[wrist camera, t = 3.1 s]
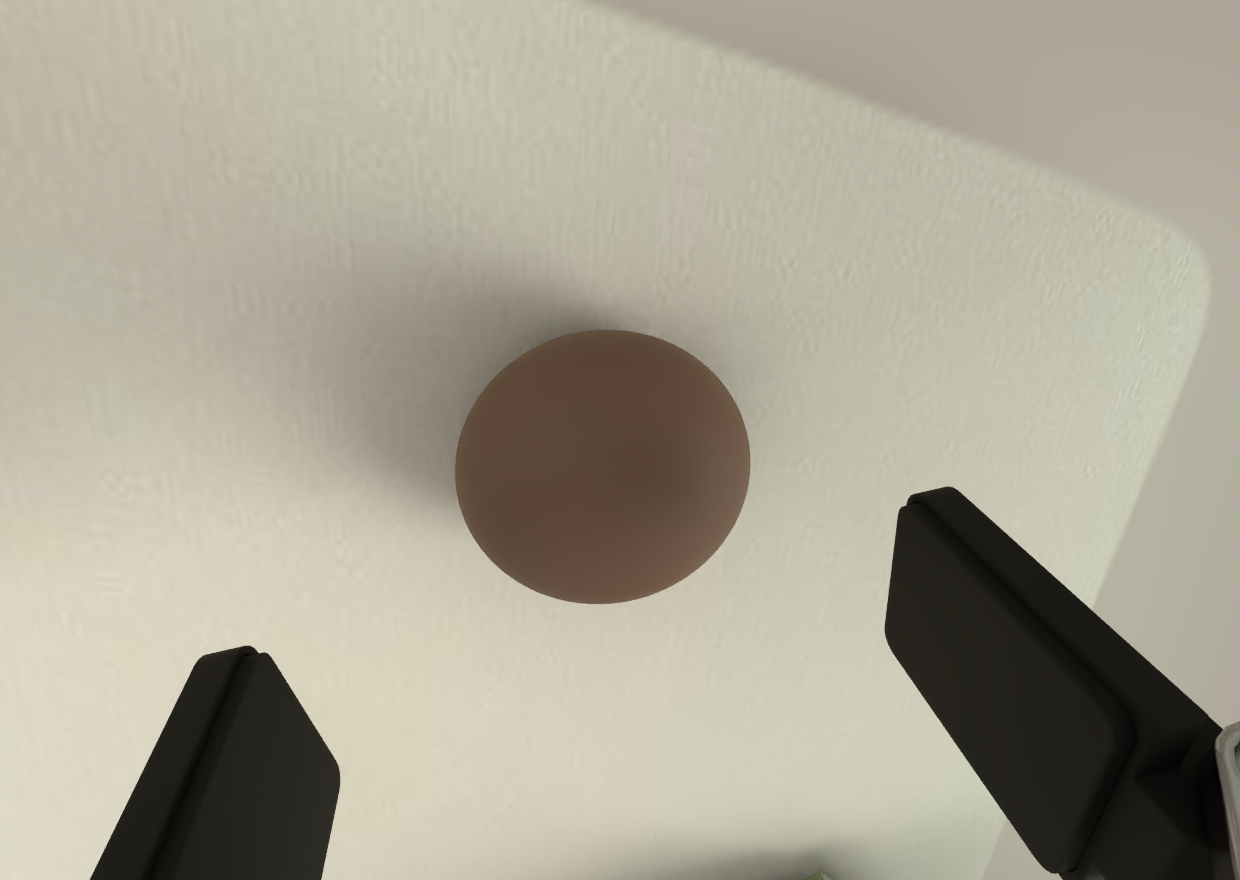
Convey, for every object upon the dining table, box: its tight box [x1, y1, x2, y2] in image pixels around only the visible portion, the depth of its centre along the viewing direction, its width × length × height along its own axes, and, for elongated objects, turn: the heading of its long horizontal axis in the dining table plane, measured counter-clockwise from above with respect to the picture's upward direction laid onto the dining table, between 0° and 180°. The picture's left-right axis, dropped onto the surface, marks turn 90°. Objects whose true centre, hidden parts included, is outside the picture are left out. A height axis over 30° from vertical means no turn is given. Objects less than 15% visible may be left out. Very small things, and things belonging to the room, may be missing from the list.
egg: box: [455, 330, 750, 604], centre depth 13 cm, size 6×6×4 cm
